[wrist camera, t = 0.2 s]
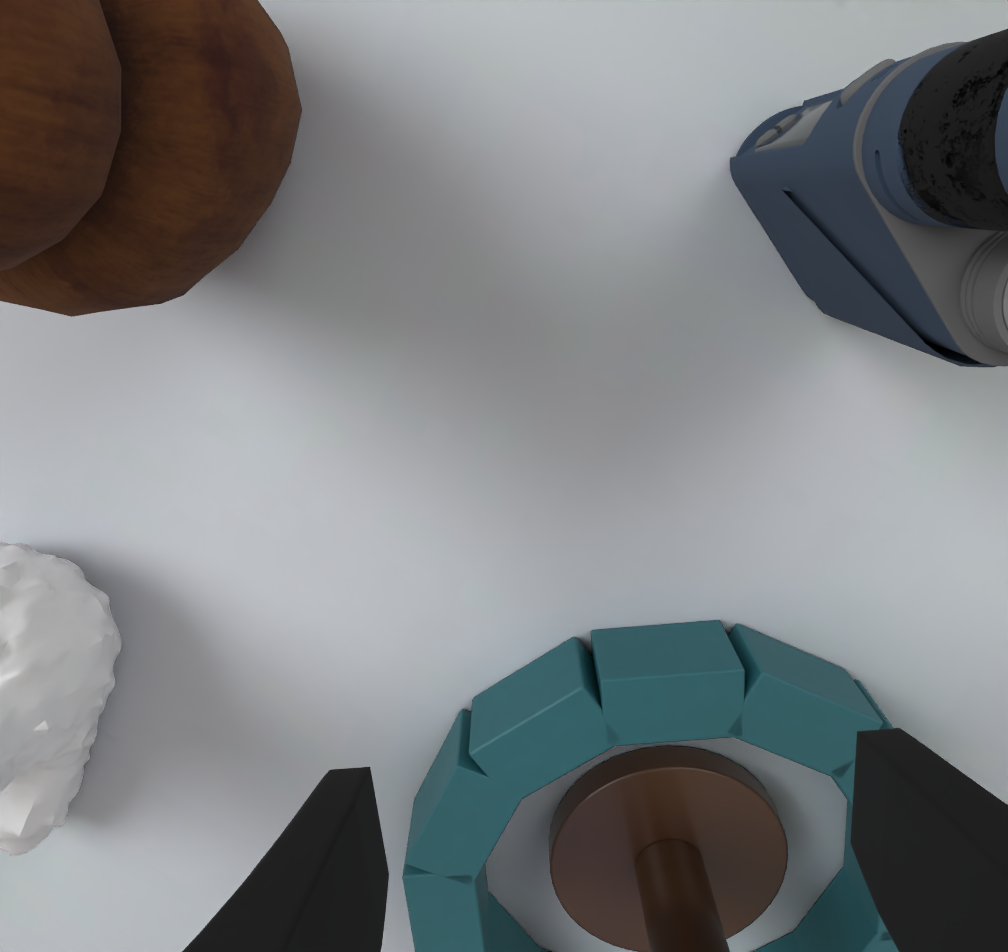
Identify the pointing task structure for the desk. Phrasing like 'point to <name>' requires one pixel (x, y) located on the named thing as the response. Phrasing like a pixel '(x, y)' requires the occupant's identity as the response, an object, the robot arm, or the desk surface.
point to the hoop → (627, 721)
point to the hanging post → (667, 850)
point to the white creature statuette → (48, 688)
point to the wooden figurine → (135, 145)
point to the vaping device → (897, 199)
